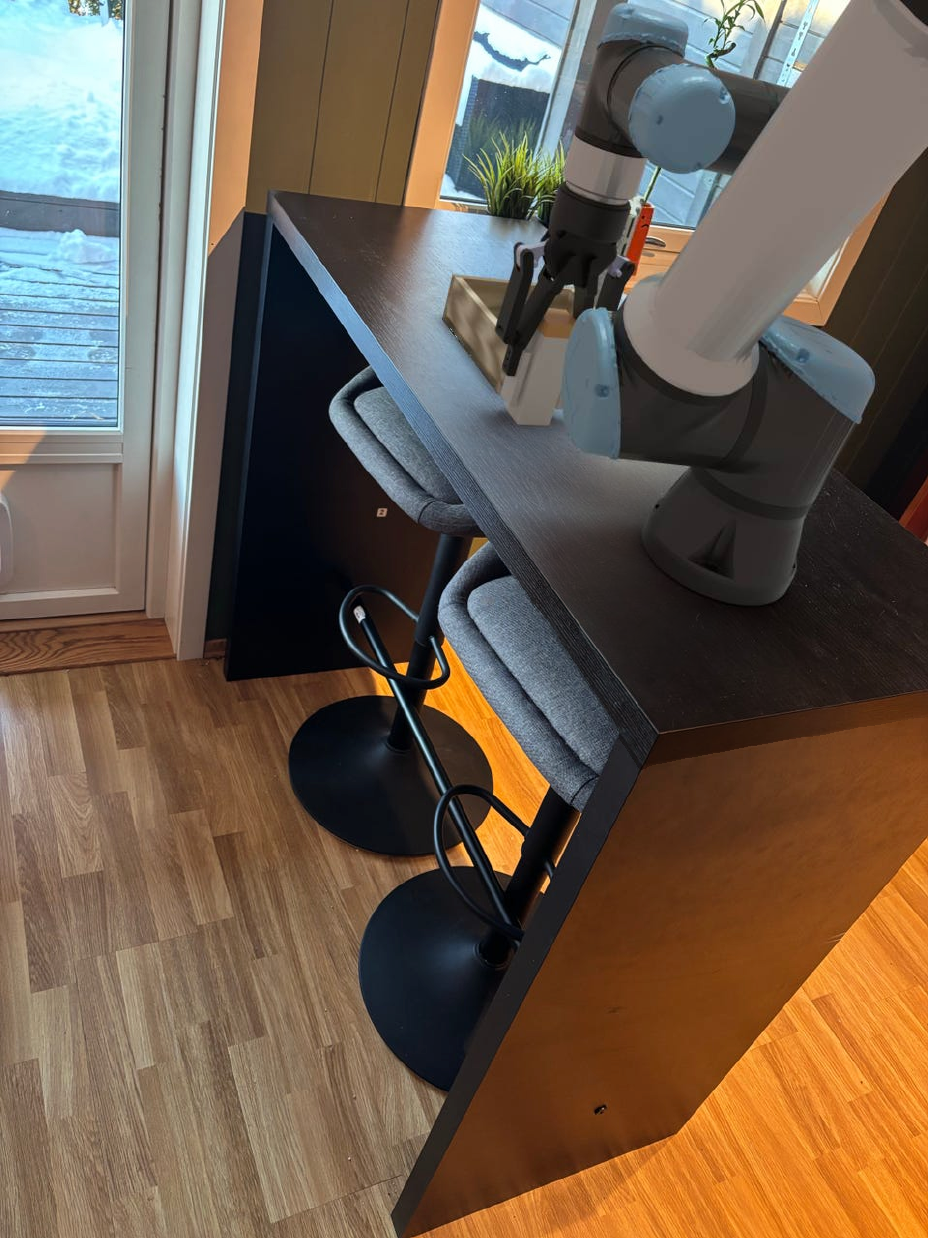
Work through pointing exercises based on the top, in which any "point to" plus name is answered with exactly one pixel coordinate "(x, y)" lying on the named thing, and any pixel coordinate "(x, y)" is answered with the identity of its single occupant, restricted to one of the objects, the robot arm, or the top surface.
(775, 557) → the robot arm
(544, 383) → the plug
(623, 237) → the candy bar box
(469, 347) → the walled box
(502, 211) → the top surface
